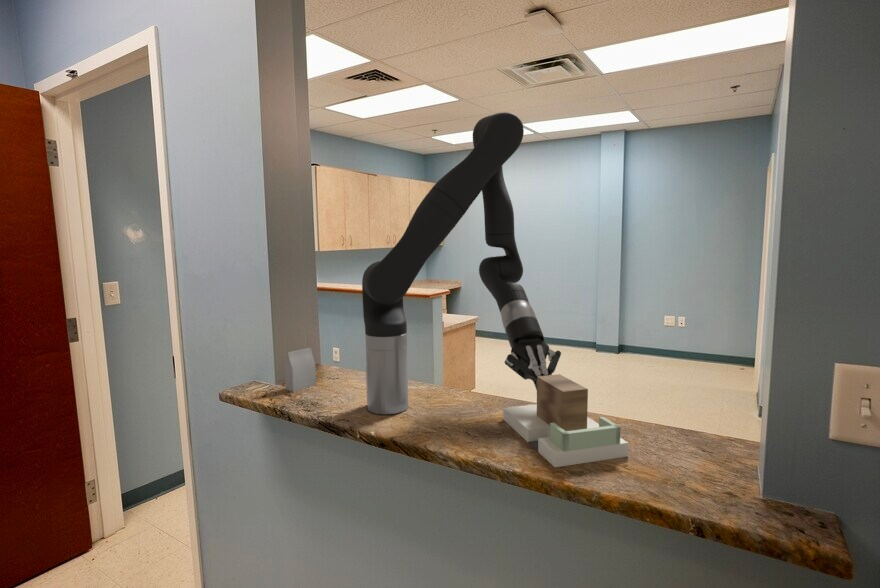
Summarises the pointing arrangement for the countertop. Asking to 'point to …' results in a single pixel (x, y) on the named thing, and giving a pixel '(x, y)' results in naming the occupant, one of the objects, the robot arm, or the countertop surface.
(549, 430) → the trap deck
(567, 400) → the walnut block
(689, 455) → the countertop surface
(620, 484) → the countertop surface
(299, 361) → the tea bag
